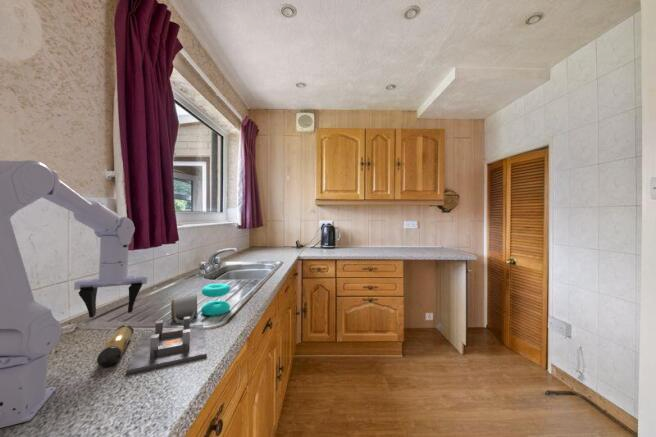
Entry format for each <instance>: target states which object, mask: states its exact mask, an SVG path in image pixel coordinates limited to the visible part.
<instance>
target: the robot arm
mask: <svg viewBox="0 0 656 437" xmlns="http://www.w3.org/2000/svg"><path fill="white" fill-rule="evenodd" d="M42 198H43V199H45V200H47V201H49V202H51V203H53V204H55V205H57V206H59V207H60V208H61V207H62V208H63V209H66V210H68V211H69V212H72V213H73V218H74V220H76V221H77V222H79V223H81V224H83V225H85V226H86V227H88V228H90V229H92V230H93V231H94V234H95V235H96V237H97V238H100V243H99V245H100V247H99V264H98V266H99V267H98V268H99V269H98V278H92V279H82V280H81V279H80V280H79V279H78V280H76V281H74V287H73V290H74V291H77V290H78V296H79V297H80V298H81V299H82V301H83V302H84V304H85V306H86V309H87V312H88V318H89V319H90V318H94V317H95V316H96V314H97V295H98V289H99V288H107V287H108V288H109V287H118V286H119V287H120V286H129V287H128V306H127V314H131V313H132V312H133V309H134V306H135V305H134V304H135V302H136V299H137V296H138V295H139V292H140V291H141V288H142V287H143V286H144V285H147V284H148V275H135V276H134V275H133V276H132V275H131V276H129V275H128V269H129V263H128V262H129V245H130V244H131V243H132V237H133V236H134V233H135V232H136V230H135V229H136V227H135V224H134V222H133V220H132V219H131V218H129V217H126V216H120V215H118V214H117V212H116V211H113V210H111V209H110V208H108V207H106V206H105V203H104V202H103V201H101V200H92V199H90V200H87V199H86V198H84V197H83V196H81V195H80V194H79V193H78V192H77V191H75V190H73V188H71V187H70V186H68V185H67V184H66V183H64V182H63V181H62V180H61V179H60V177H59V174H58V172H57V171H56V170H53V169H51V168H50V167H49V166H47V165H46V164H44V163H43V162H40V161H37V160H33V159H31V160H29V159H27V160H1V159H0V429H2V428H6V427H10V426H13V425H17V424H21V423H26V422H29V421H31V420H32V419H33V418H34V417H35V415H36V414H37V413H38V412H39V411H40V410H41V408H42V407H43V406H44V405H45V403H47V401H48V399H50V397H51V396H52V395H53V393H54V392H55V391H56V389H57V386H51V387H47V378H48V376H47V374H48V359H49V358H48V356H49V355H48V354H50V353H51V352H53V349H54V348H55V346H57V344H58V342H59V341H60V338H61V336H62V331H63V327H62V324H61V322H60V321H59V320H57V319H56V318H55V317H54V315H53V313H52V312H53V311H52V310H51V309H50V308H48V307H46V306H45V305H42V304H41V303H39V302H38V301H36V300H35V297H34V295H33V291H32V288H31V285H30V281H29V278H28V274H27V272H26V271H27V270H26V267H25V264H24V261H23V258H22V254H21V251H20V247H19V244H18V241H17V237H16V234H15V230H14V229H13V224H12V221H11V218H12V217H13V216H14V215H15V214H16V213H17V212H18V211H20V210H22V209H24V208H25V207H27V206H29V205H31V204H33V203H34V202H36V201H38V200H40V199H42Z"/></svg>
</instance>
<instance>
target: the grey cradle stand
mask: <svg viewBox="0 0 656 437" xmlns="http://www.w3.org/2000/svg"><path fill="white" fill-rule="evenodd" d="M183 320H184V324H182V325H183V326H182V327H176V328H170V329H164V320H163V319H160V320H156V322H155V327H154V328H155V329H154V330H155V331H152V332H144V333H141V335H140V337H139V340H138V342H137V345H136V347H135V349H134V350H133V351H134V352H133V353H132V356H131V358H130V360H129V363H128V365H127V367H126V370H125V376H127V375H132V374H138V373H142V372H147V371H151V370H156V369H160V368H165V367H169V366H174V365H178V364H183V363H187V362H192V361H196V360H198V361H199V360H202V359H206V358H207V356H208V355H207V344H206V338H205V330H204V324H203V323H201V324H195V325H191V321H190V316H188V317H184V318H183Z"/></svg>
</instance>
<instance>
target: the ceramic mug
mask: <svg viewBox="0 0 656 437" xmlns="http://www.w3.org/2000/svg"><path fill="white" fill-rule="evenodd" d="M170 301H171V305H170V306H171V307H170V315H171V319H173V320H174V321H175V323H176V324H179V323H184V317H188V316H190V322H192V320H193V319H194V317H198V294H190V295H185V296H179V297H175V298H173V299H171V300H170Z"/></svg>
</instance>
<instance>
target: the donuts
mask: <svg viewBox="0 0 656 437" xmlns="http://www.w3.org/2000/svg"><path fill="white" fill-rule="evenodd" d="M230 292H231V286H230V285H229V284H227V283H220V282H219V283H210V284H208V285H207V284H206V285H205V286H203V287H202V289H201V294H202V295H203V296H205V297H207V298H219V297H223V296H225V295H227V294H230ZM230 308H231V305H230V303H229V302H228V301H226V300H211V301H208V302H206V303H205V304H203V305H202V306H201V309H200V311H201V313H202V314H203V315H205V316H210V317H211V316H212V317H213V316H215V317H216V316H221V315H223V313H224V314H226V313H228V312H229V310H230ZM225 312H226V313H225ZM220 314H221V315H220Z"/></svg>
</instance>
